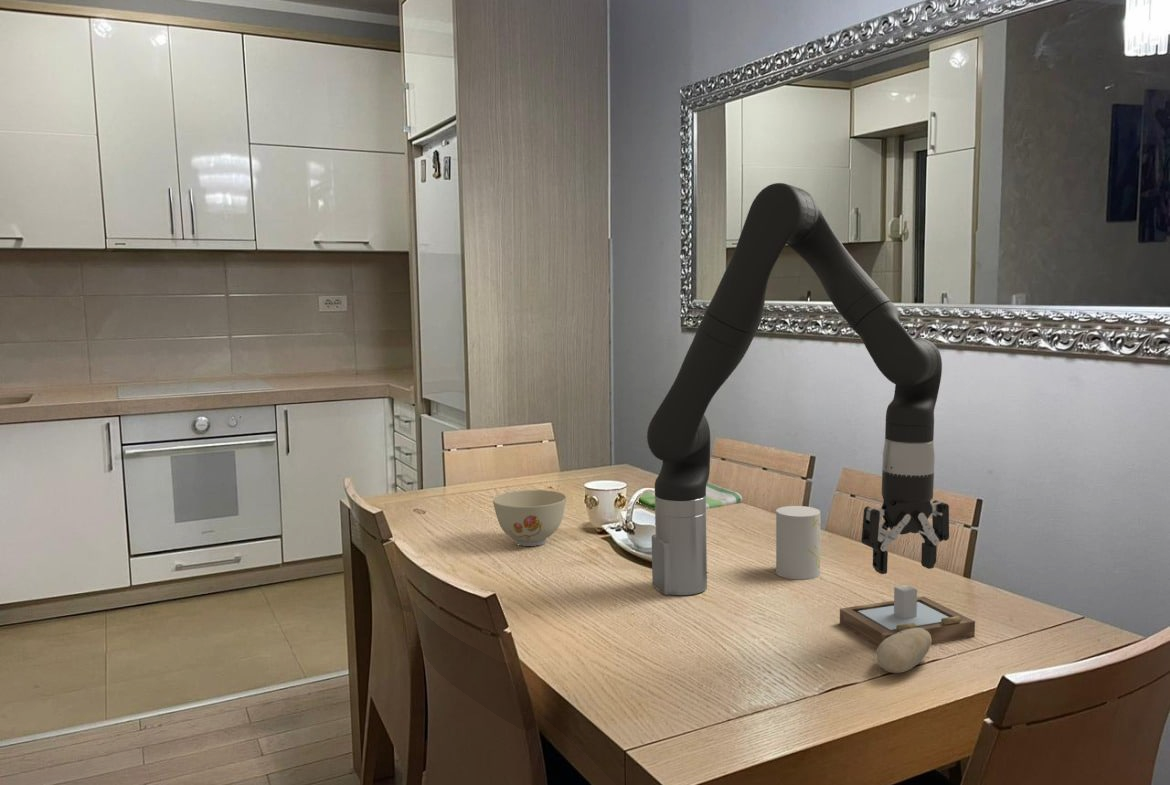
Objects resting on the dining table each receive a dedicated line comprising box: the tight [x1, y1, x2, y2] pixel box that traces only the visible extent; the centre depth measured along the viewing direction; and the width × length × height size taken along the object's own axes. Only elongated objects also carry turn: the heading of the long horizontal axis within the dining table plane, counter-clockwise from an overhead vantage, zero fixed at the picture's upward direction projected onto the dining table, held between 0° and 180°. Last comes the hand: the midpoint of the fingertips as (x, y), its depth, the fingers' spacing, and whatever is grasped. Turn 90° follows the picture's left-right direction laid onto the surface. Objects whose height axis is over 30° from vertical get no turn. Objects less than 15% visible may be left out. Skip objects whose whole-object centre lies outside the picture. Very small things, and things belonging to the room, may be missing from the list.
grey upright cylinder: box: [775, 505, 821, 580], centre depth 168 cm, size 8×8×12 cm
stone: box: [876, 628, 932, 674], centre depth 127 cm, size 6×6×12 cm
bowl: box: [492, 489, 567, 547], centre depth 193 cm, size 16×16×10 cm
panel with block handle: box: [858, 584, 948, 632], centre depth 139 cm, size 12×8×6 cm
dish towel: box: [638, 481, 743, 511], centre depth 227 cm, size 17×23×4 cm
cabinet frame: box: [839, 595, 976, 648], centre depth 140 cm, size 16×12×3 cm
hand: (904, 569), depth 139 cm, fingers open, 8 cm apart
